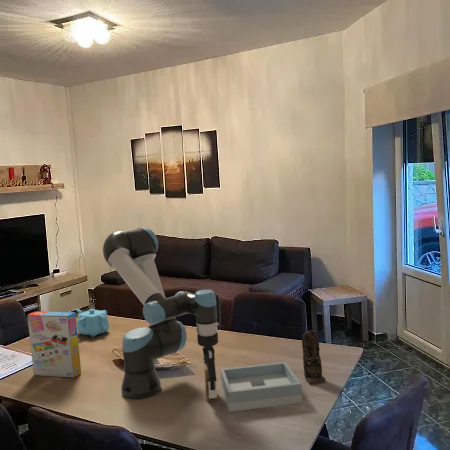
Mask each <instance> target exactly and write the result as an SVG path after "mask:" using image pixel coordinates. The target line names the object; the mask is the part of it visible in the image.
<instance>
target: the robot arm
mask: <svg viewBox="0 0 450 450" xmlns="http://www.w3.org/2000/svg"><path fill="white" fill-rule="evenodd" d="M158 245H159V241H158V237H157V236H156V234H155V232H154V231H153V230H152V229H150V228H148V227H137V228H134V229H133V228H132V229H125V230H116V231H113V232H112V233H110V234H109V235H108V236H107V237H106V239H105V240H104V243H103V247H102V253H103V257H104V260H105V262H106V263H107V265H108V266H109V267H111V268H112V269H113V268H114V270H115V271H116V272H117V273H118V274H119V275H120V277H121V278H122V279H123V281H124V282H125V283H126V285H127V286H128V287H129V288H130V289H131V291H132V292H133V294H134V295H135V297H137V299H138V300H139V301H140V303H141V304H142V305H143V307H142V315H143V317H144V320H145V321H146V323H148V326H147V327H146V326H145V327H143V326H142V327H137V328H134V329H131V330H129V331H128V332H126V333H125V334H124V336H122V344H121V345H122V347H121V348H122V355H123V356H122V357H123V367H124V374H123V379H122V382H121V394H122V396H123V397H124V398H127V399H130V400H131V399H132V400H133V399H134V400H139V399H141V400H142V399H147V398H149V397H152V396H155V395H157V393H160V390H161V389H162V386H161V385H162V384H161V380H160V378H159V374H158V373H157V371H156V367H155V366H156V365H155V364H156V363H155V362H156V360H158V359H161V358H163V357H164V358H165V357H166V356H169V355H172V354H176V353H177V352H179V351H181V350H183V349H184V348H185V346H186V342H187V339H188V337H187V330H186V327H185V326H184V325H185V324H183V322H181V321H178V320H177V317H180V316H184V315H187V314H189V315H194V316H195V317H196V318H195V319H196V322H195V323H196V324H195V325H196V334H197V335H196V337H197V345H199V346H200V347H202V353H203V354H202V355H203V364H204V366H207V370H208V378H209V379H207V382H208V387H209V398H217V399H218V395H217V392H218V391H217V380H218V379H217V373H216V372H217V371H216V362H215V360H216V358H215V353H216V351H215V348H214V346H216V345H218V344H219V333H218V326H219V325H220V323H219V322H218V315H217V300H216V299H217V298H216V297H217V296H216V293H215V291H214V290H212V289H199V290H197V291H195V293H193V292H189V291H185V290H184V291H183V290H182V291H178V292H176V293H175V294H174V296H173V295H171V296H170V297H166V295H165V292H164V288H163V285H162V282H161V281H162V280H161V279H160V275H159V272H158V269H157V265H156V262H155V258H156V257H157V252H158V249H159V246H158Z"/></svg>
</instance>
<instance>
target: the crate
mask: <svg viewBox="0 0 450 450" xmlns="http://www.w3.org/2000/svg"><path fill="white" fill-rule="evenodd" d="M220 379H221V380H220V381H221V390H222V393H223V395H224V399H225V403H226V405H227V409H228V411H229V413H231V412H239V411H247V410H256V409H263V408H271V407H272V408H273V407H279V406H286V405H288V404H289V405H296V403H297V404H302V403H303V401H302V400H303V396H302V383H301V382H300V380H299V379H298V377H297V375H295V373H294V372H293V370H292V369H291V368H290V366H289V365H288V363H287V361H282V362H281V361H280V362H274V363H273V362H272V363H263V364H255V365H254V364H253V365H248V366H247V365H246V366H236V367H229V368H220Z"/></svg>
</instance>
